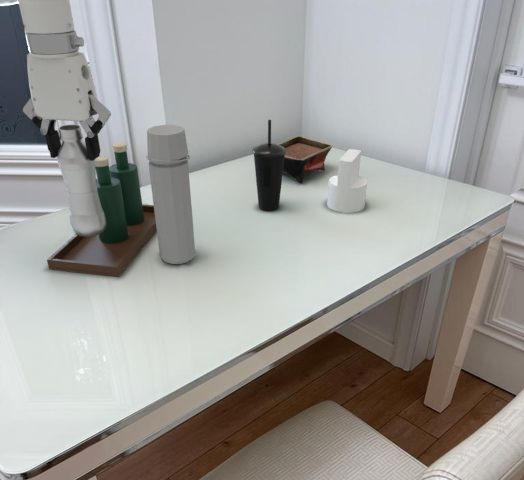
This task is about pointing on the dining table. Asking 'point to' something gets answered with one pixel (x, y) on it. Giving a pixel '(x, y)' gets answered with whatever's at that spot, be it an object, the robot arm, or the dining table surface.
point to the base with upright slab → (347, 185)
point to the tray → (104, 250)
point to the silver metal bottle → (80, 183)
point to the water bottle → (171, 192)
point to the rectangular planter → (304, 156)
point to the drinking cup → (269, 172)
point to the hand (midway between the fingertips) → (75, 156)
